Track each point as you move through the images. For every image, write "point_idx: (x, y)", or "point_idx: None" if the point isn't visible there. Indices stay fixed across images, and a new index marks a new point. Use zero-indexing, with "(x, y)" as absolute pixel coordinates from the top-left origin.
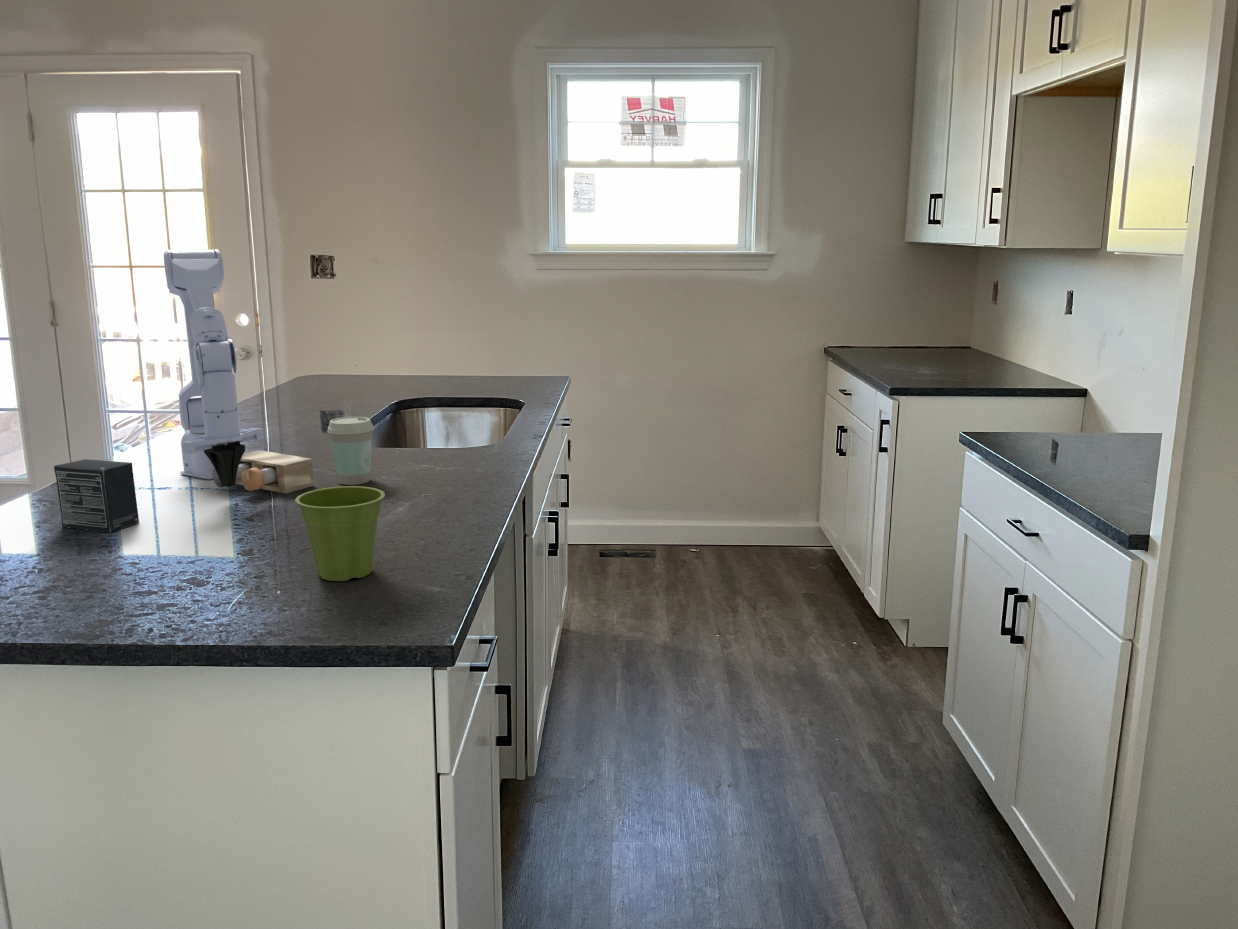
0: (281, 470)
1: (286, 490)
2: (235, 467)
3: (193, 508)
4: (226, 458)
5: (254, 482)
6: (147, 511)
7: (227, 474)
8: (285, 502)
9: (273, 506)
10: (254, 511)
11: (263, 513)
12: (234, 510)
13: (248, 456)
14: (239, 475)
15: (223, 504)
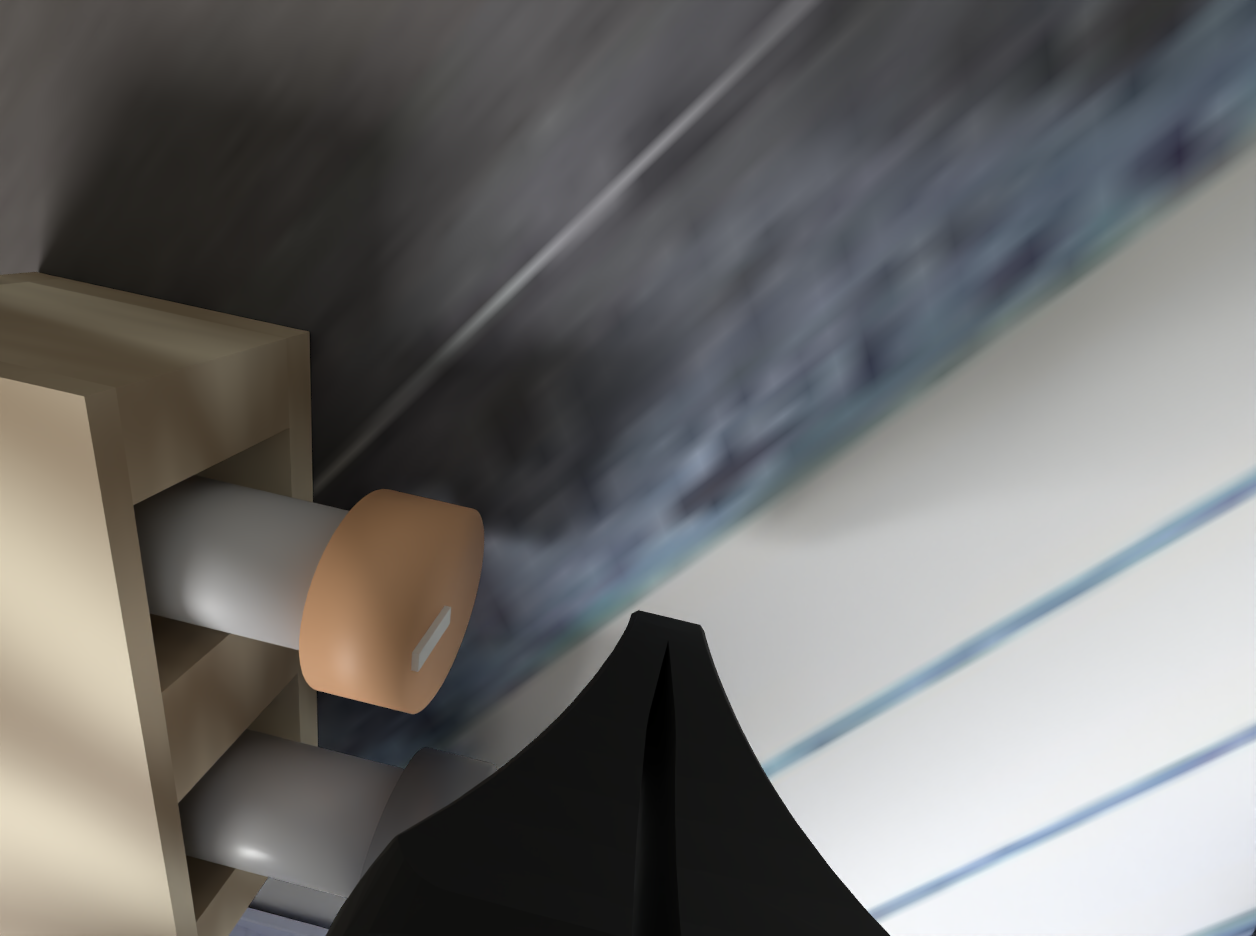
0: (148, 418)
1: (284, 335)
2: (611, 718)
3: (890, 695)
4: (792, 880)
5: (458, 532)
6: (1014, 885)
7: (729, 703)
8: (513, 119)
9: (666, 129)
10: (869, 183)
11: (920, 26)
12: (877, 386)
13: (101, 898)
14: (343, 771)
15: (740, 577)
